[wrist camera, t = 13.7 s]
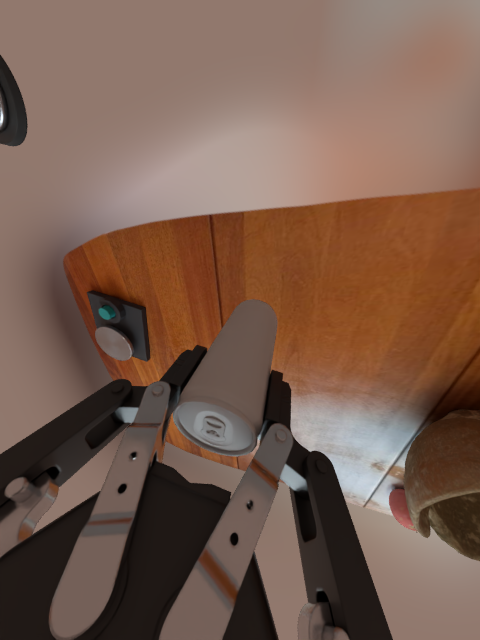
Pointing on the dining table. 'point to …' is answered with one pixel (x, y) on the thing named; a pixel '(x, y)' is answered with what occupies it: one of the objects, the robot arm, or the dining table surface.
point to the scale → (124, 321)
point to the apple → (400, 508)
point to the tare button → (107, 312)
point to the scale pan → (114, 342)
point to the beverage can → (231, 384)
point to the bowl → (447, 481)
